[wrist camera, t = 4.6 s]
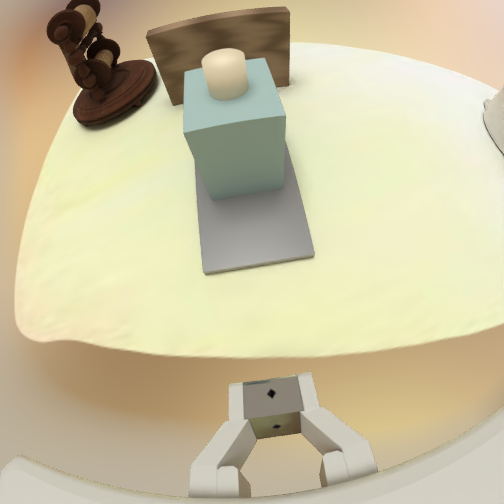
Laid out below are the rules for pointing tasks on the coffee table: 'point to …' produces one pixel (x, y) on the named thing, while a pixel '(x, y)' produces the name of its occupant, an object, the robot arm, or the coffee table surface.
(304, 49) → the coffee table surface
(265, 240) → the grey flat rectangular plate
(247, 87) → the dowel block
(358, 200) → the coffee table surface
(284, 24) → the backstop wall
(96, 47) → the scroll
